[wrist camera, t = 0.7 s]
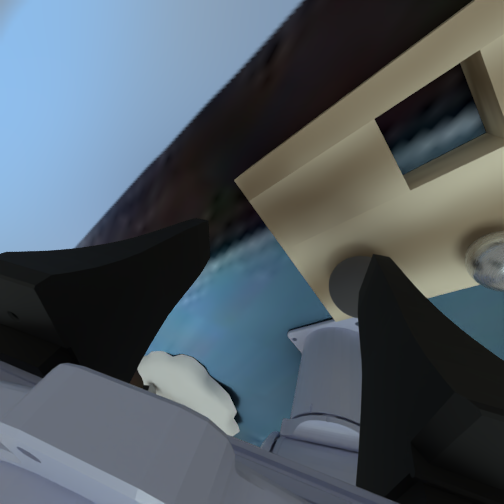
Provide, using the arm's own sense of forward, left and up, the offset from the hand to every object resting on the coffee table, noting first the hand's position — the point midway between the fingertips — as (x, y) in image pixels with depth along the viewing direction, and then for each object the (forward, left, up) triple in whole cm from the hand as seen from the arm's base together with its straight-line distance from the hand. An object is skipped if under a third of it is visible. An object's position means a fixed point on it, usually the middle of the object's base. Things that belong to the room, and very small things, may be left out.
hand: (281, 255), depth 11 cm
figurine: (-19, +34, -10) cm, 41 cm away
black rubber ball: (-6, -1, -5) cm, 8 cm away
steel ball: (-8, -8, -5) cm, 12 cm away
